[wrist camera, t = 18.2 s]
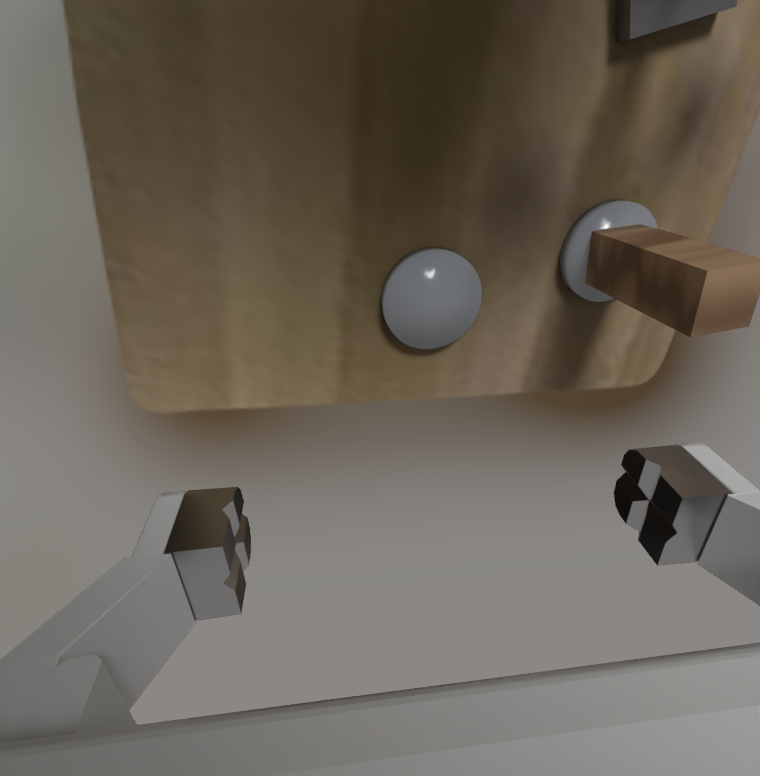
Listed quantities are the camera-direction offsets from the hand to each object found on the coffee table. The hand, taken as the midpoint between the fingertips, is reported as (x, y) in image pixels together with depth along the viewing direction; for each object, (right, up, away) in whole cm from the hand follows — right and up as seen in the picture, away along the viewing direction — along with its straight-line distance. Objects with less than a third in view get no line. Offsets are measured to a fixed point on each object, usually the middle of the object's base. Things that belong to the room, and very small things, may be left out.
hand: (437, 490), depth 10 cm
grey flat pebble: (+18, +14, +32) cm, 39 cm away
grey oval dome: (+3, +10, +30) cm, 32 cm away
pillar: (+18, +14, +31) cm, 38 cm away
